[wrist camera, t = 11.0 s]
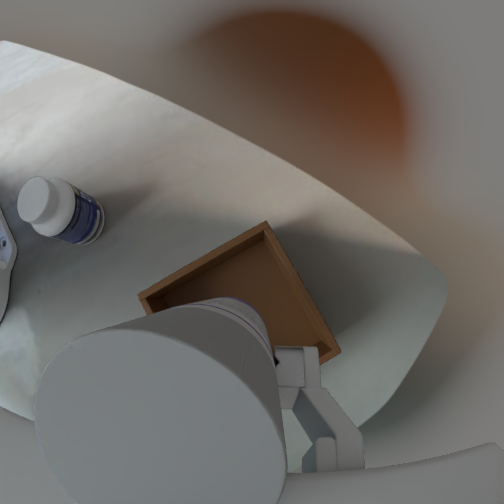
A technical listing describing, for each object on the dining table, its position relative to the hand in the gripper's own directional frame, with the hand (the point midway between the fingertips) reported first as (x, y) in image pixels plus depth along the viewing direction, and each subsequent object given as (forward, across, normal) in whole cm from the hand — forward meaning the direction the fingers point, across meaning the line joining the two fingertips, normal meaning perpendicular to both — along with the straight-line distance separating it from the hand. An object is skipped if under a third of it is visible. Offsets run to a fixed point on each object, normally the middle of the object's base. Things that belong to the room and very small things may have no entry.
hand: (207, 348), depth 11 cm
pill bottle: (+19, +17, +8) cm, 27 cm away
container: (+5, 0, +6) cm, 8 cm away
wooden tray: (+13, 0, +14) cm, 19 cm away
